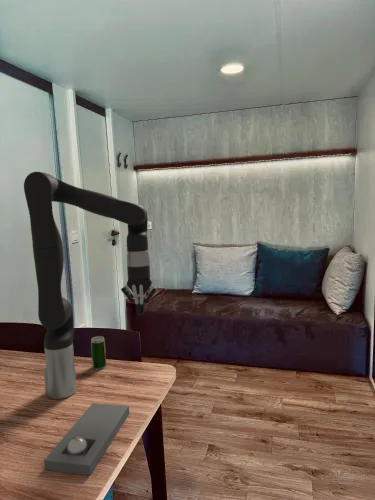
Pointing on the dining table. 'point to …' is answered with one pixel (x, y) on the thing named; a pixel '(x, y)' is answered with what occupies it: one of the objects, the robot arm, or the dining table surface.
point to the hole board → (88, 439)
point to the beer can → (98, 352)
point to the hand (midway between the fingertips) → (140, 314)
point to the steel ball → (77, 447)
